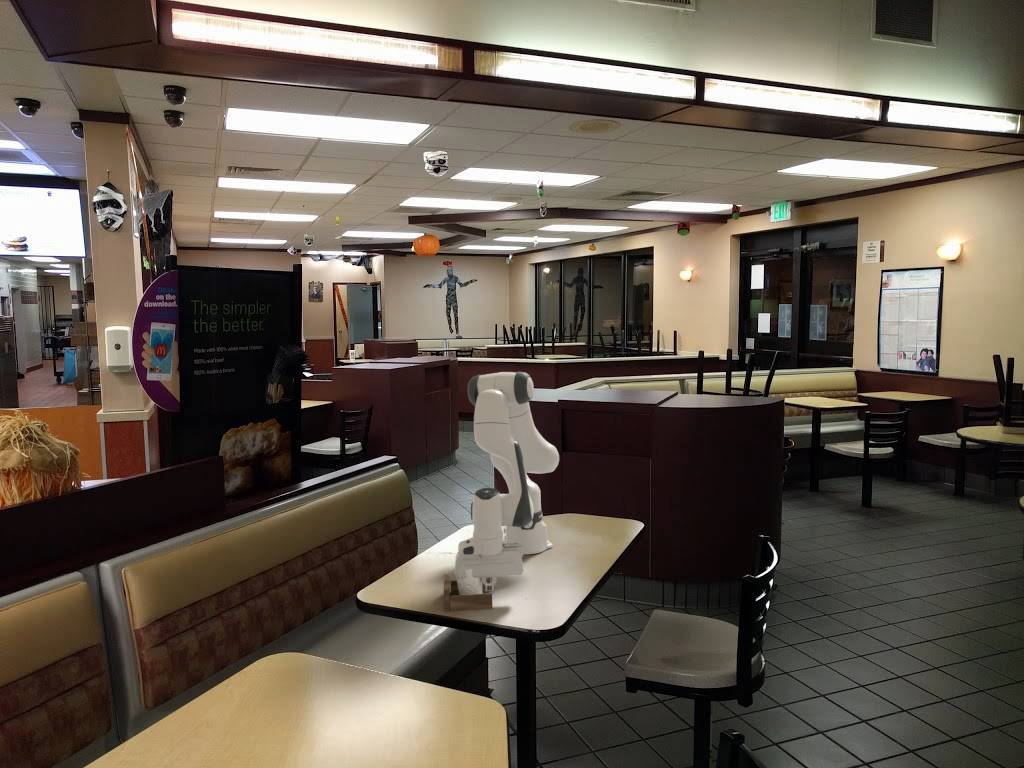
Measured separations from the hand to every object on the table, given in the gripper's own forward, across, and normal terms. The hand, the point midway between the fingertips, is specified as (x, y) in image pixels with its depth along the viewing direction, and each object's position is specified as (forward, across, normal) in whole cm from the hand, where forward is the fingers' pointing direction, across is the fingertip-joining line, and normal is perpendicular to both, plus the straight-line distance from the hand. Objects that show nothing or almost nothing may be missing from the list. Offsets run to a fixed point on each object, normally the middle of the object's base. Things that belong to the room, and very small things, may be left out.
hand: (489, 590), depth 199 cm
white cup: (+3, +5, -2) cm, 6 cm away
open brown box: (+3, +6, -1) cm, 6 cm away
